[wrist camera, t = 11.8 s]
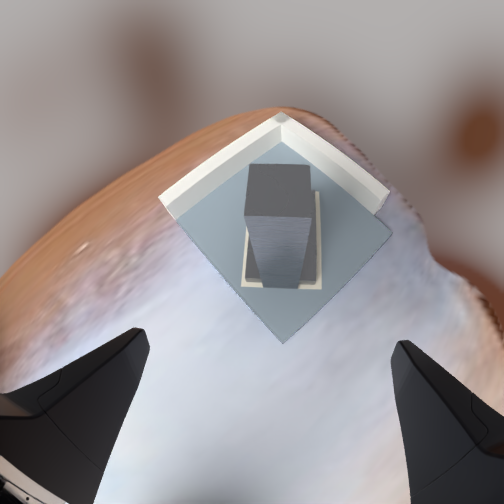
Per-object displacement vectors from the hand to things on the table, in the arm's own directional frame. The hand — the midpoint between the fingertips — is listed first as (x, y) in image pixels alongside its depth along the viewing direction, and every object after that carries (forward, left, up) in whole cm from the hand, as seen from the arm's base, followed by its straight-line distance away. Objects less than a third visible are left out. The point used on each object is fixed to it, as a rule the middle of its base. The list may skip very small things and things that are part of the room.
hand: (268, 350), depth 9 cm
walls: (+9, +10, -13) cm, 18 cm away
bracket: (+7, +7, -13) cm, 16 cm away
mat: (+8, +8, -13) cm, 17 cm away
